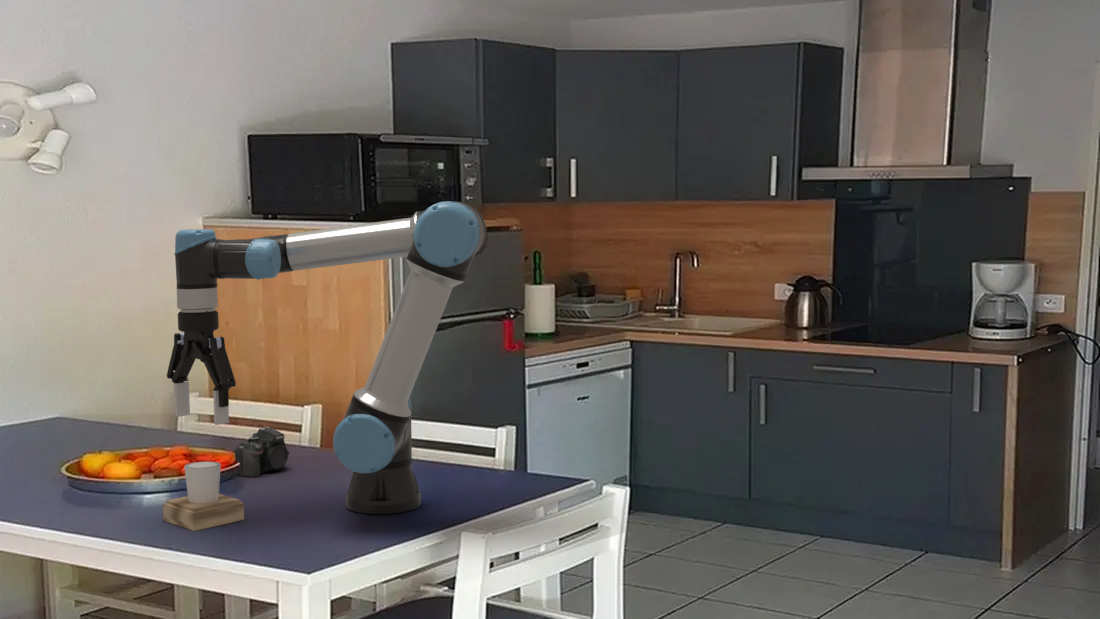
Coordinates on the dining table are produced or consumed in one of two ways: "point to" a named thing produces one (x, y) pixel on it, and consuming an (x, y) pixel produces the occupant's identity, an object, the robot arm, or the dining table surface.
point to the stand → (203, 512)
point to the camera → (261, 453)
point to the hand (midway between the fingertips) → (201, 419)
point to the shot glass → (202, 481)
